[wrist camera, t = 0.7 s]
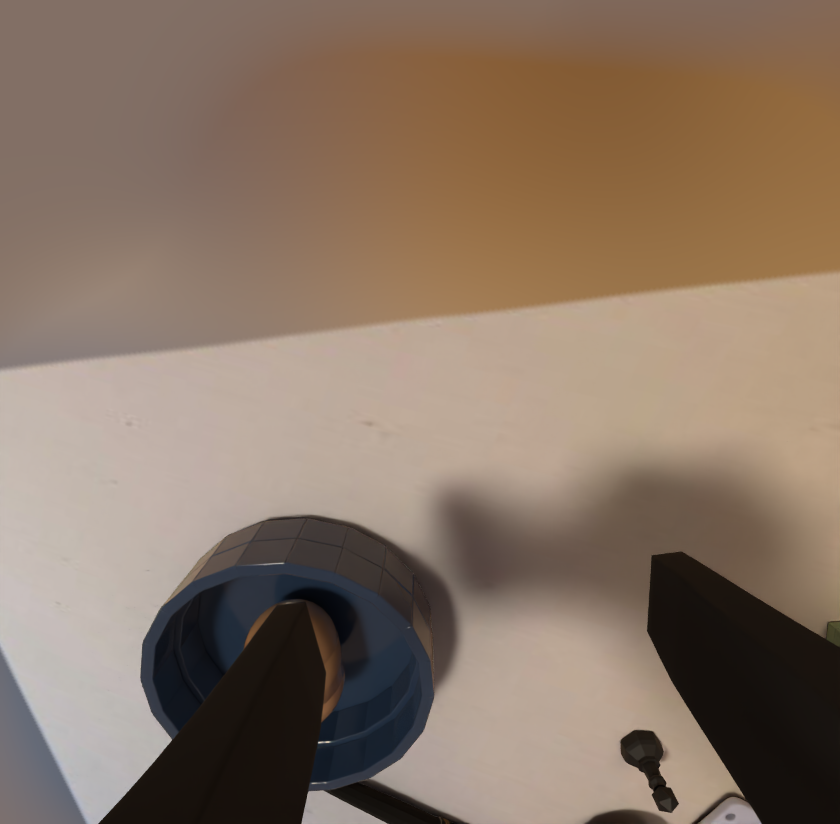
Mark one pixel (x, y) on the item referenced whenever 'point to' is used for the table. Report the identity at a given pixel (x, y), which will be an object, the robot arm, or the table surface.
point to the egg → (327, 646)
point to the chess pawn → (649, 765)
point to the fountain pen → (384, 805)
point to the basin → (353, 617)
